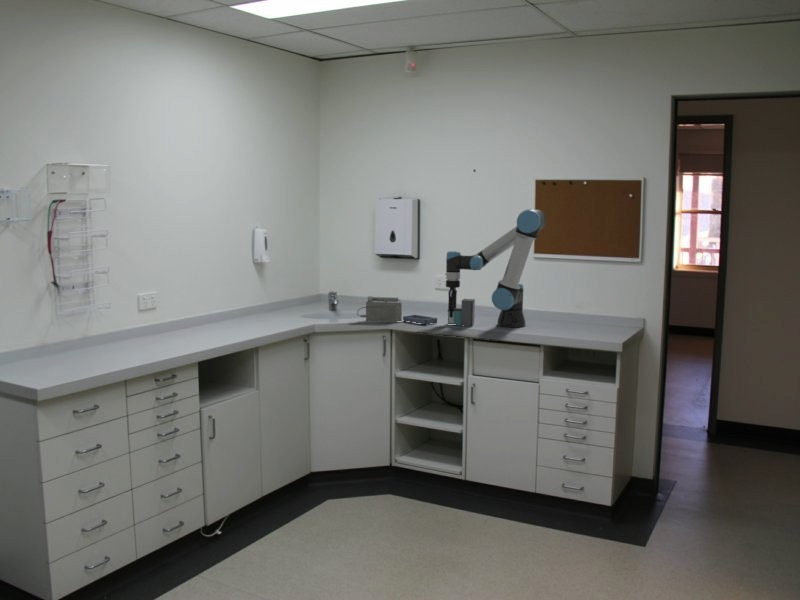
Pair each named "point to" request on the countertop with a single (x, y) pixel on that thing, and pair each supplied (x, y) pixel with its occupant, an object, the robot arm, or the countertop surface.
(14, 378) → the countertop surface
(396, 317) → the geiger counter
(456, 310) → the teal-edged grey panel
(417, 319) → the tray
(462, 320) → the grey upright block
